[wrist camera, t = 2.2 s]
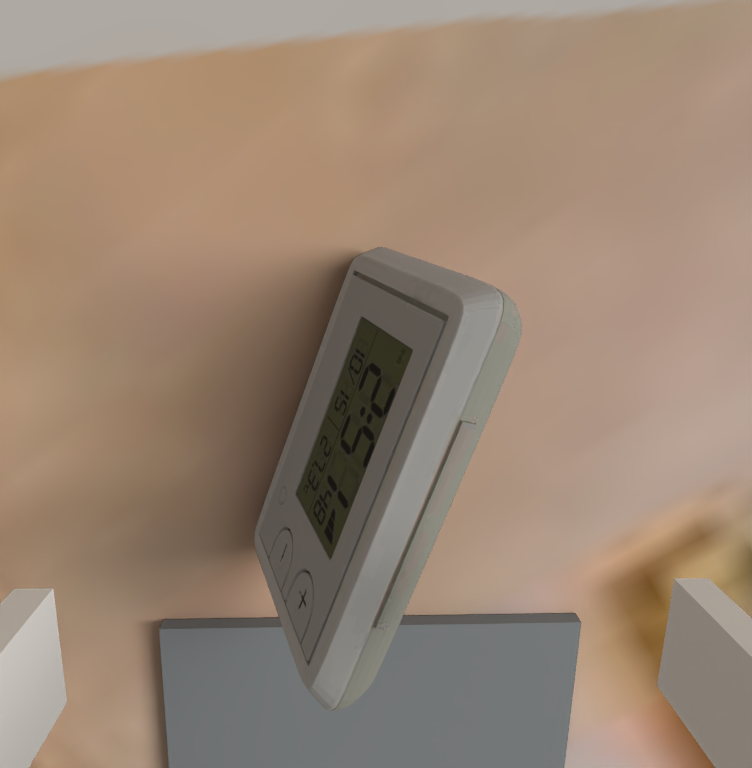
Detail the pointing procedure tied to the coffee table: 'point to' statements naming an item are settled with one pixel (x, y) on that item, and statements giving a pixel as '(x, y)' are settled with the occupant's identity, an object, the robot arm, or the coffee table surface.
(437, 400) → the digital clock
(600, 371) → the coffee table surface
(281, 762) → the mat
